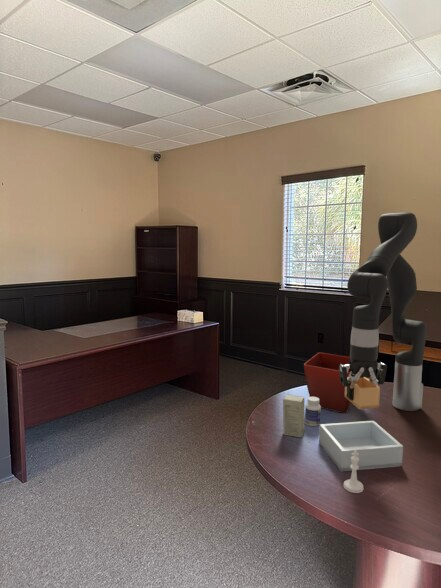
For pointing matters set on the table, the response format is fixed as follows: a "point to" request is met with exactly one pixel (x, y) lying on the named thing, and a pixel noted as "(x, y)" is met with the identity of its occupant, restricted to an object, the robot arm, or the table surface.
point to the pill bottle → (313, 412)
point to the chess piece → (354, 477)
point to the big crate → (360, 445)
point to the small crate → (365, 394)
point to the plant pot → (327, 381)
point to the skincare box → (293, 415)
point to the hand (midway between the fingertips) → (361, 398)
